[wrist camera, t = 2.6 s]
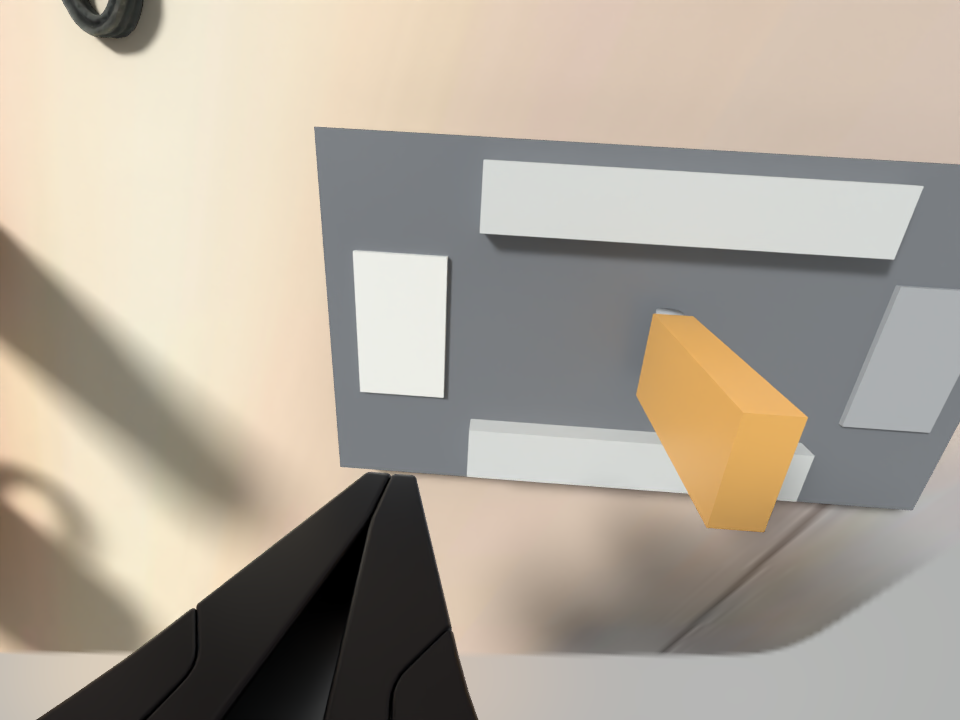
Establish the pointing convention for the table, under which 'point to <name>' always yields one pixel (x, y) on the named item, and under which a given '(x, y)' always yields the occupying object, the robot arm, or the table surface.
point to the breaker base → (634, 304)
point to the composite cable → (106, 17)
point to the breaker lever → (717, 422)
